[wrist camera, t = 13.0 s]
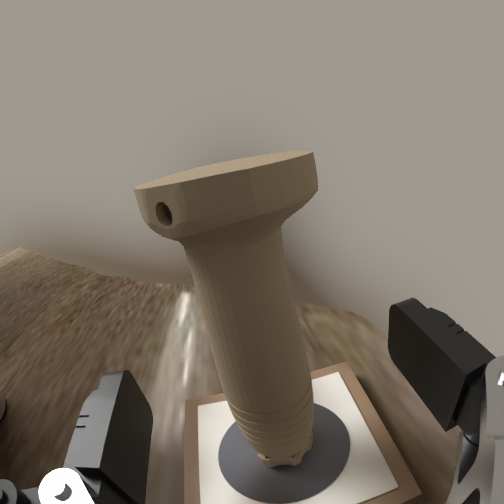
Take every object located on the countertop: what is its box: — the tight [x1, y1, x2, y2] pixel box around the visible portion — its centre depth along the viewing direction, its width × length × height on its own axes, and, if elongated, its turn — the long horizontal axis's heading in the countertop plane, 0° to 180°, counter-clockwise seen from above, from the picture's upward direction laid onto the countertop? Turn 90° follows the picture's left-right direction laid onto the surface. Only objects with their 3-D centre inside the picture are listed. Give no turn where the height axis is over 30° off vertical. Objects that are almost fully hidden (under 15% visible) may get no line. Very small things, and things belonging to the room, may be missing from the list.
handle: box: [134, 150, 318, 467], centre depth 13 cm, size 5×6×15 cm
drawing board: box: [184, 361, 422, 504], centre depth 16 cm, size 12×12×2 cm
